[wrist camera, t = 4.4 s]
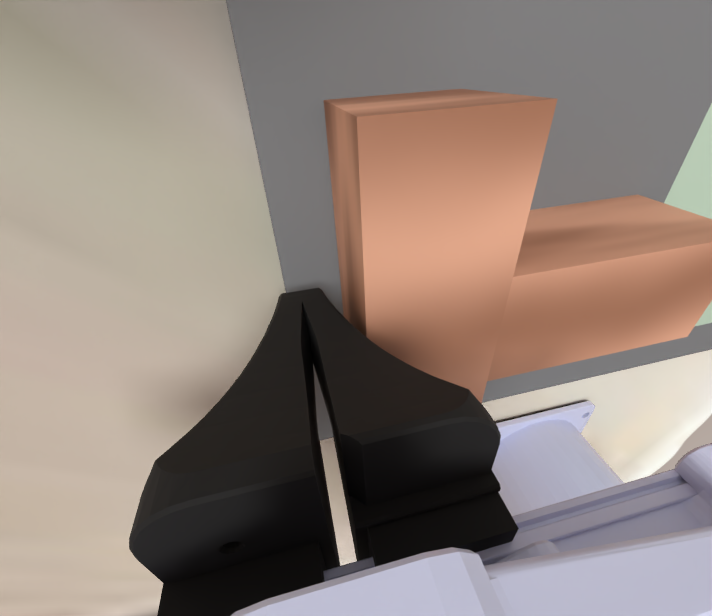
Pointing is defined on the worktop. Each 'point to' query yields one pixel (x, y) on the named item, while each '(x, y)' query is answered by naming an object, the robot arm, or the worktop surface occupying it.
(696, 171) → the mat
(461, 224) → the t block
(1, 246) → the worktop surface
